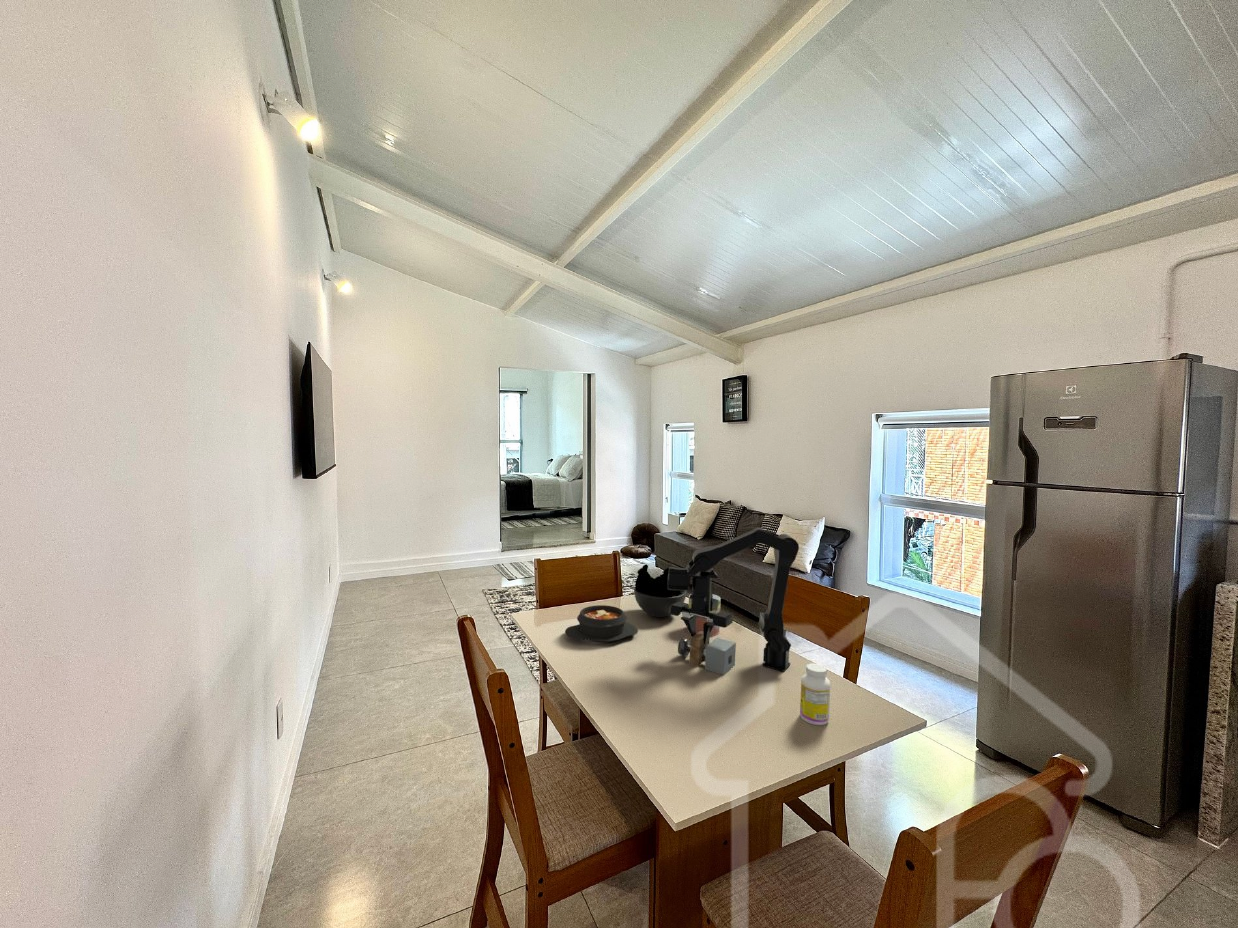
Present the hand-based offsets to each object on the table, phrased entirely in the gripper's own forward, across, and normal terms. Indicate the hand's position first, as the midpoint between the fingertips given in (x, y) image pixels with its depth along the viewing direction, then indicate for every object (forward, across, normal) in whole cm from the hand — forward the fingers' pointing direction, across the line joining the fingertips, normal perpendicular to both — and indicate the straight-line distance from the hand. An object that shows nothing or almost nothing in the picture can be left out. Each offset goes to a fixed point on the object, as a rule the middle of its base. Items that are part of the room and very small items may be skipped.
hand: (699, 641), depth 155 cm
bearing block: (+6, -7, 0) cm, 9 cm away
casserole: (+6, +35, +3) cm, 36 cm away
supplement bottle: (+6, -37, +12) cm, 39 cm away
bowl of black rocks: (+6, +30, -27) cm, 41 cm away
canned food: (+6, +10, -24) cm, 27 cm away
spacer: (+6, 0, 0) cm, 6 cm away
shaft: (+6, -1, 0) cm, 6 cm away
